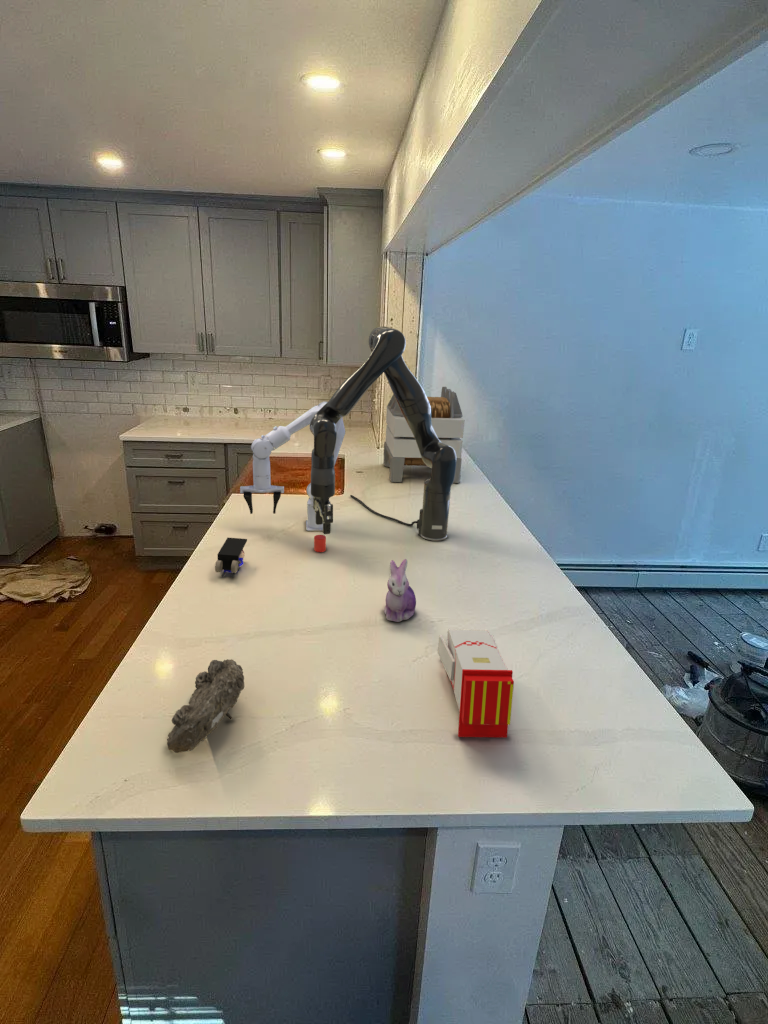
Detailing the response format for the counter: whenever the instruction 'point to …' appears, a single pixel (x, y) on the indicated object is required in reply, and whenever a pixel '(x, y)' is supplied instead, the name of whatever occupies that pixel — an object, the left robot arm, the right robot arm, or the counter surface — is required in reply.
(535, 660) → the counter surface
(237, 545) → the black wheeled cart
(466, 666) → the toy
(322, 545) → the canister
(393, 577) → the figurine
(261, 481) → the left robot arm
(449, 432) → the grey storage crate
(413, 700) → the counter surface
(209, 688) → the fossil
